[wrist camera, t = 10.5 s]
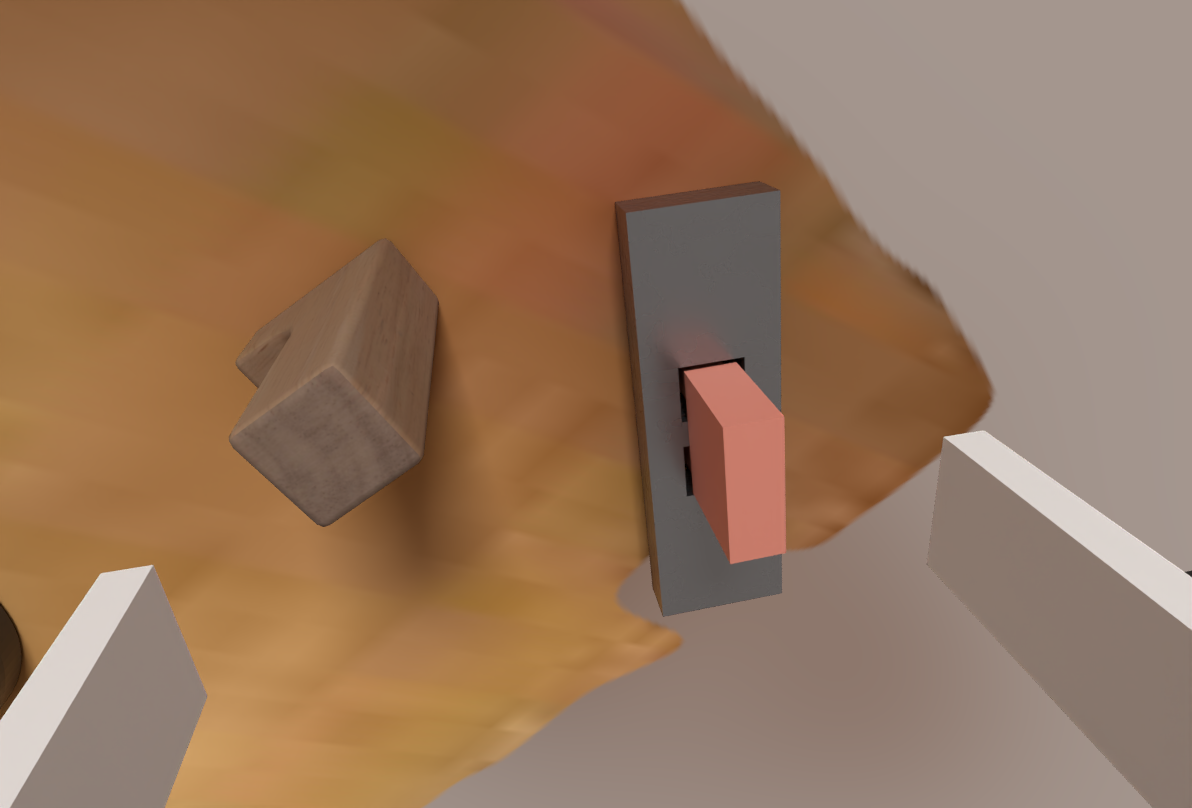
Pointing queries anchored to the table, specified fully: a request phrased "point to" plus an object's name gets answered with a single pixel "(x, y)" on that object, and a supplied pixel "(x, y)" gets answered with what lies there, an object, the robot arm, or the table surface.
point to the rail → (692, 337)
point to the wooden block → (342, 385)
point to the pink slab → (736, 459)
